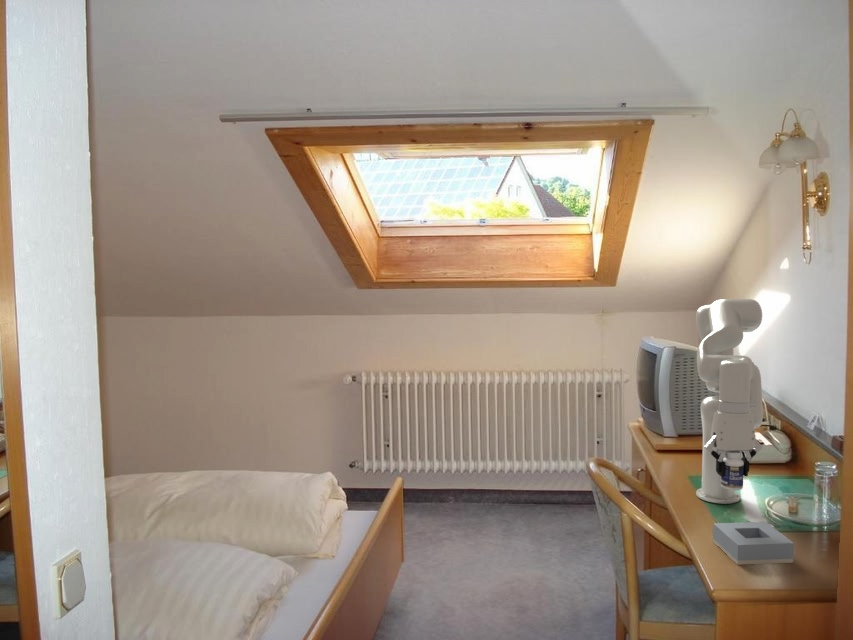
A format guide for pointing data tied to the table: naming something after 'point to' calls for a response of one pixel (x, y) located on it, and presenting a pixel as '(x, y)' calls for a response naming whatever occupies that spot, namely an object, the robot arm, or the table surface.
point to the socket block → (753, 543)
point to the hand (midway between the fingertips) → (732, 474)
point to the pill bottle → (733, 471)
